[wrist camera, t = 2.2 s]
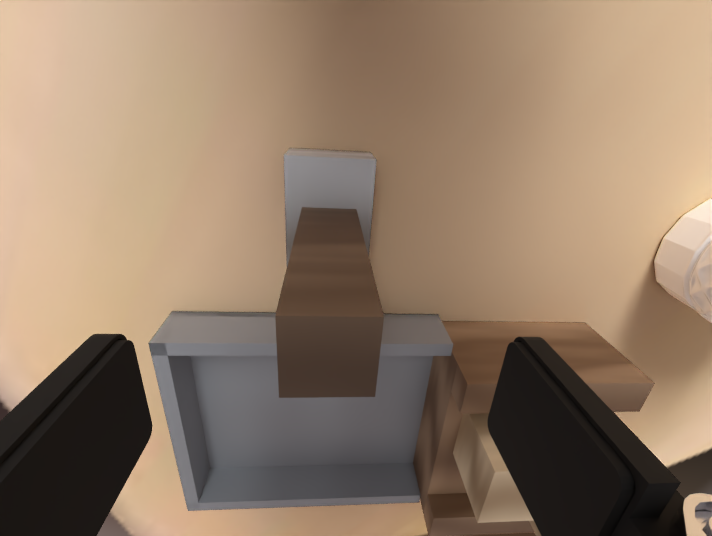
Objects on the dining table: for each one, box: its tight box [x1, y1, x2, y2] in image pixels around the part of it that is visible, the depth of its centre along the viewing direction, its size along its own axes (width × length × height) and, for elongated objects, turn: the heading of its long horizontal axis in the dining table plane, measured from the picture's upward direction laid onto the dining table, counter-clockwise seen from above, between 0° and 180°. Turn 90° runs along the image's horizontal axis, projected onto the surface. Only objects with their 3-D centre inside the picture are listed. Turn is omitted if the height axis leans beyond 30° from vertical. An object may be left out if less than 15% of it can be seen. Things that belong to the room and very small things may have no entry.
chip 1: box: [453, 413, 534, 523], centre depth 19 cm, size 4×4×4 cm
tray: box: [149, 311, 453, 511], centre depth 23 cm, size 14×16×3 cm
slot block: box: [413, 321, 655, 536], centre depth 23 cm, size 13×10×6 cm
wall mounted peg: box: [275, 148, 384, 398], centre depth 14 cm, size 7×4×12 cm, turn 177°
